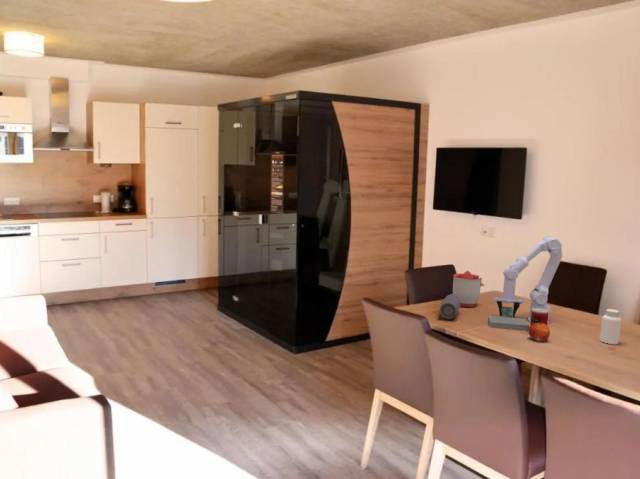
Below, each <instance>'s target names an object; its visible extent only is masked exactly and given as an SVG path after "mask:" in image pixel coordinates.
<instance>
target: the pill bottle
mask: <svg viewBox="0 0 640 479" xmlns="http://www.w3.org/2000/svg"><path fill="white" fill-rule="evenodd" d="M622 323H623V322H622V318H621V317H620V311H619V310H617V309H613V308H612V309H611V308H607V309H606V310H605V314H604V315H603V316H602V318H601V325H600V326H601V327H600V331H599V332H600V335H599V341H600V342H601V343H603V342H604V344H607V343H608V344H607V345H619V343H620V339H621V338H620V337H621V329H622Z"/></svg>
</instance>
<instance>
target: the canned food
mask: <svg viewBox="0 0 640 479" xmlns="http://www.w3.org/2000/svg"><path fill="white" fill-rule="evenodd" d="M548 314H549V311H548V310H546V309H541V308H533V309H532V311H531V322H530V321H529V322H530V323H529V327H530V326H531V325H532V324H534V323H544V324H546V325H547V326H549V325H548V324H549V323H548Z"/></svg>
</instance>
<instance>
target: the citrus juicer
mask: <svg viewBox="0 0 640 479" xmlns="http://www.w3.org/2000/svg"><path fill="white" fill-rule="evenodd" d="M482 279H483V278H482V277H480V276H479V275H477V274H472V273H471V272H470V271H469V270H466V271H465V272H464V273H454V274H453V282H452V294H455V295H457V296H458V297H459V299H460V302H461V303H460V307H463V308H475V307H476V306H477V304H479V299H480V295H481V287H484V286H485V284H484V283H483V282H482Z"/></svg>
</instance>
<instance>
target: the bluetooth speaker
mask: <svg viewBox="0 0 640 479" xmlns="http://www.w3.org/2000/svg"><path fill="white" fill-rule="evenodd" d="M460 303H461V302H460V299H459V297H458V296H457V295H455V294H453V293H451V294H448V295H446V297H445V298H444V299H443V300H442V302H441V304H440V307H439V314H440V315H441V316H442V317H443V318H444V319H448V320H451V319H453V318H455V317H456V316H457V314H458V313H459V311H460Z"/></svg>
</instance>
